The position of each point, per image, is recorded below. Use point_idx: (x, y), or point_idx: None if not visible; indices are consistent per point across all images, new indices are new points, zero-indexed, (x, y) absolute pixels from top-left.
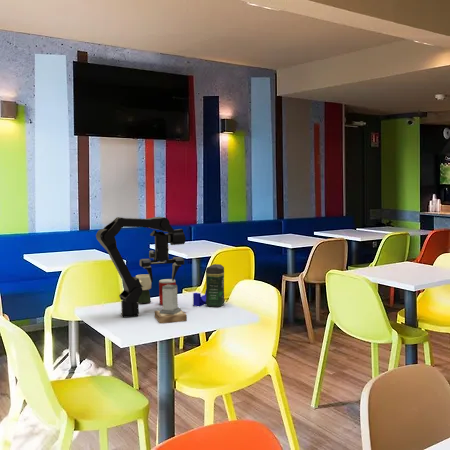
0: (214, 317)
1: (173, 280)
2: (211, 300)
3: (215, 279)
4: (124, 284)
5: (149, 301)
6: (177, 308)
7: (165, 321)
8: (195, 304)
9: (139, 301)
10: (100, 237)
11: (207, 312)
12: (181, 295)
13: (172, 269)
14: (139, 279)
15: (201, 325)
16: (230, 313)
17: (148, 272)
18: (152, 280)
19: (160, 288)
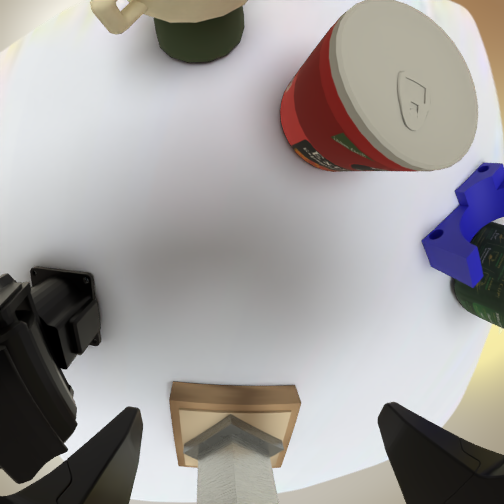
0: (374, 430)
1: (385, 422)
2: (473, 309)
3: None
4: None
5: (226, 52)
6: (267, 452)
7: None
8: (430, 253)
9: (161, 45)
10: None
11: (400, 373)
12: (424, 9)
13: (466, 473)
14: None
15: (293, 480)
16: (435, 394)
17: (57, 493)
18: (138, 448)
19: (312, 100)
